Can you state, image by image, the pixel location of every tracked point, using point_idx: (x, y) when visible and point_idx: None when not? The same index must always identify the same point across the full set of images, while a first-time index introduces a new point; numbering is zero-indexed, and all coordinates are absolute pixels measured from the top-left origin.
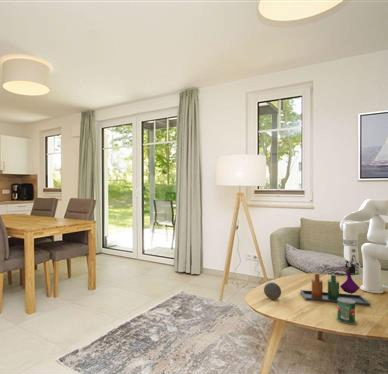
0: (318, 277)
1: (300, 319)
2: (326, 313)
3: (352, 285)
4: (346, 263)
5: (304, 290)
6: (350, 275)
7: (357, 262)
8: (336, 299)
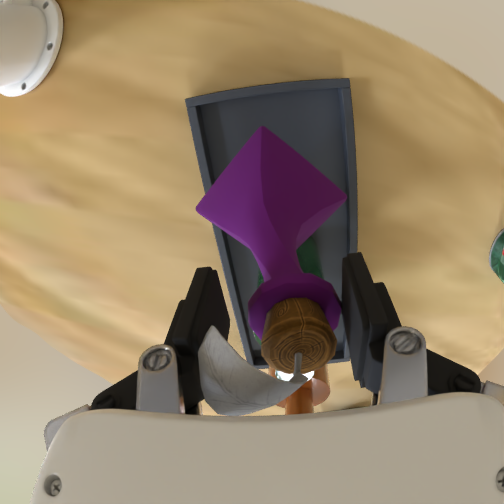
0: (313, 408)
1: (487, 354)
2: (459, 298)
3: (321, 204)
4: (198, 400)
5: (248, 359)
6: (296, 264)
7: (477, 397)
8: (317, 247)
